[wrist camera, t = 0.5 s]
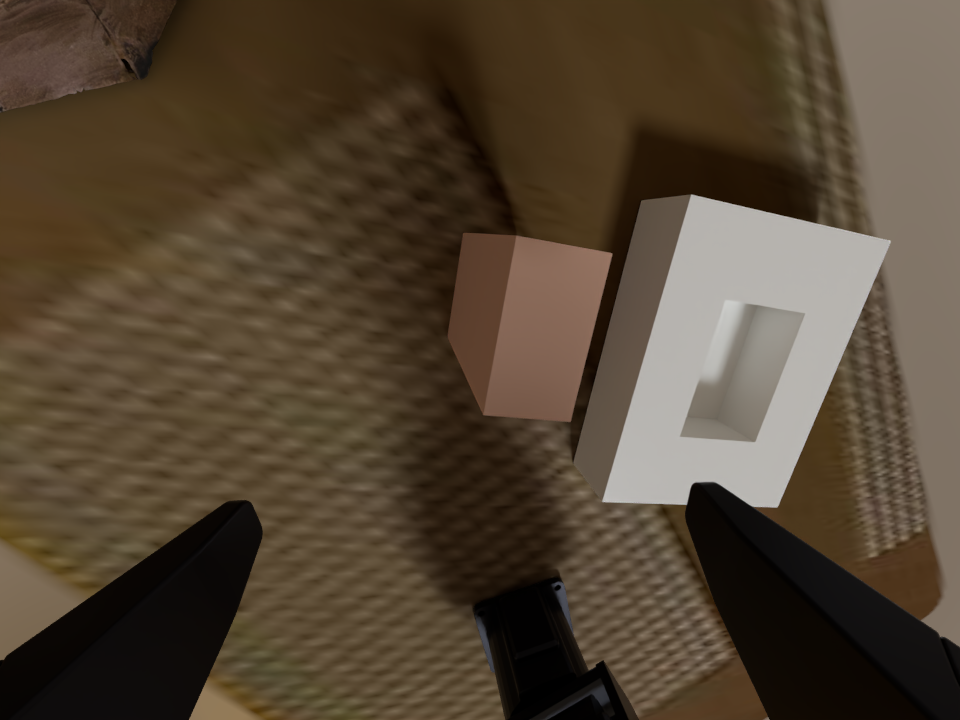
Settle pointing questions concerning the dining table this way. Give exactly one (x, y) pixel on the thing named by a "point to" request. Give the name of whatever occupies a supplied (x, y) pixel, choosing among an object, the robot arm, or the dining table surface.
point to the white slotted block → (720, 350)
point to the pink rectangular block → (525, 322)
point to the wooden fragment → (74, 45)
